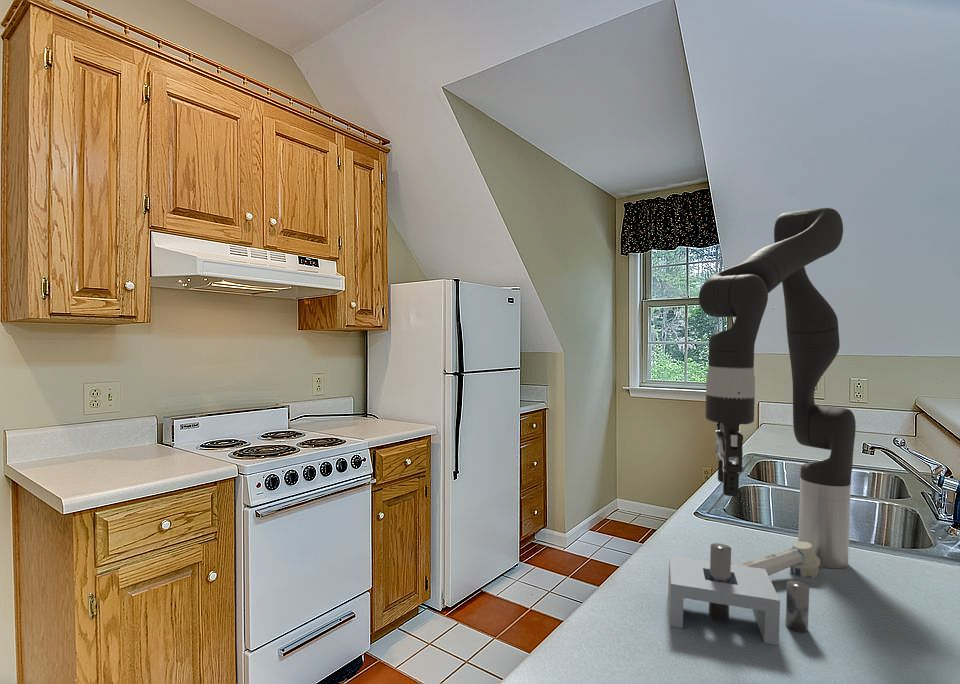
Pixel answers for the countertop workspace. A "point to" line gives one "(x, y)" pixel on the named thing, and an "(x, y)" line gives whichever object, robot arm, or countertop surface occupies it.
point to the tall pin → (720, 578)
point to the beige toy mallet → (789, 561)
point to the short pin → (797, 606)
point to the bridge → (724, 592)
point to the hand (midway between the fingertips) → (727, 488)
